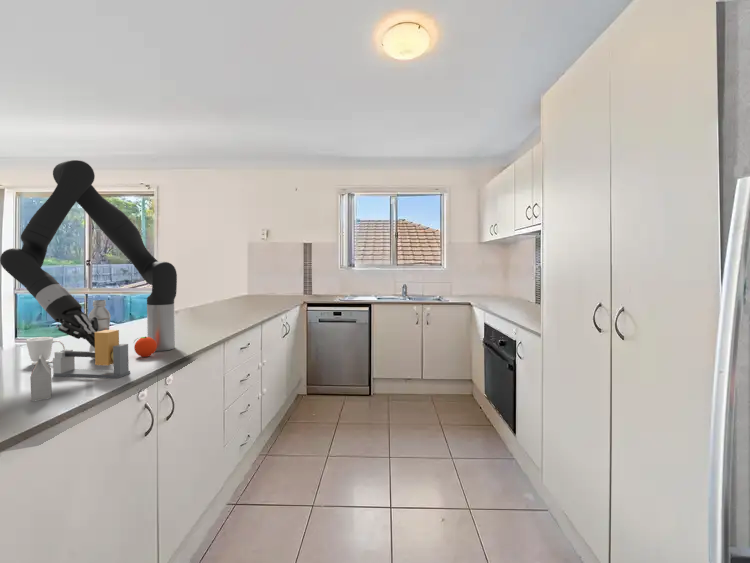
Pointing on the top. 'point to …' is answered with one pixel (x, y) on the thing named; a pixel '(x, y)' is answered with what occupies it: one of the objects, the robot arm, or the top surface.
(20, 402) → the top surface
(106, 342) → the sleeve
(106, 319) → the plastic bottle
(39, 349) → the cup
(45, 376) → the milk carton
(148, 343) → the clementine
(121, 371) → the gray horizontal rod stand
